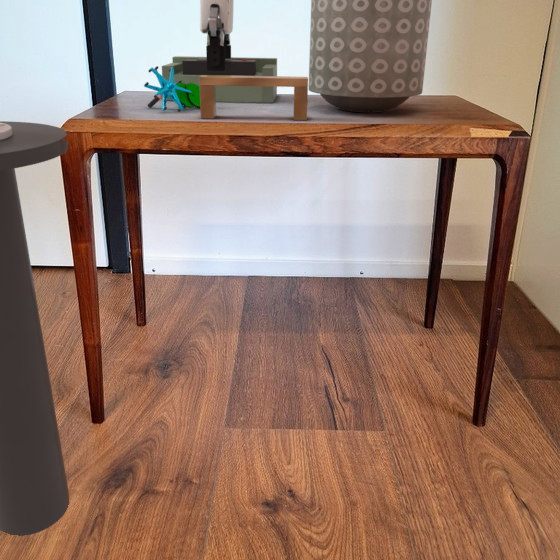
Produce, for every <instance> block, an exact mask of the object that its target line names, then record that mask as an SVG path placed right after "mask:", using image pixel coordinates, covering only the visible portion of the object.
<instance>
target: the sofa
mask: <svg viewBox="0 0 560 560" xmlns="http://www.w3.org/2000/svg"><path fill="white" fill-rule="evenodd" d="M171 58H172V62H170V63H167V64H164V65H161V75H162V76H163V77H164V78H165V79H166V80H167V81H169V78H170V72H169V70H170V69H171V68H172V67H173V68H174V81H173V82H174V83H175V84H176V83H178V82H179V81H182V83H185V84H188V83H194V84H196V85H198V86H199V87H200V82H199V77H200V76H202V75H183V67H182V61H183V60H186V59H199V58H207V56H185V55H183V56H181V55H178V56H177V55H174V56H172V57H171ZM231 59H232V60H242V59H247V60H256V74H255V76H278V57H238V56H237V57H235V56H233V57H232V56H231ZM227 76H232V75H227ZM165 86H166V85H165ZM215 87H216V103H252V104H253V103H254V104H256V103H257V104H274V102H275V100H276V98H277V96H278V87H273V86H215ZM170 93H171V91H170ZM171 94H172V93H171ZM167 102H174V101H173V100H171V99H170V98H169V97H168V96H167Z"/></svg>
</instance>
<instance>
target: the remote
mask: <svg viewBox="0 0 560 560" xmlns="http://www.w3.org/2000/svg"><path fill="white" fill-rule="evenodd" d="M182 67H183V75H232V76H255V74H256V60H247V59H242V60H232V59H225V70H224V71H209V70H207V58H199V59H186V60H183V61H182Z"/></svg>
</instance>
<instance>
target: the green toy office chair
mask: <svg viewBox="0 0 560 560" xmlns="http://www.w3.org/2000/svg"><path fill="white" fill-rule="evenodd" d="M158 69H160V68H159V66H158V65H156V66H155V67H151V68H149V69H148V73H151V72H152V73H153V75H155V76H156V79H157V81H158V83H159V86H160V87H159V86H156V85H152V84H150V83H149V82H148V81H147V82H145V83H144V84H143V87H144V88H147V89H148V90H149V89H150V90H153V91H156V93H155V94H154V95H153V99H151V100H150V101H149V102H148V103H147V107H148V108H149V109H152V108H153V107H154V106H155V105H156V104H157V103H158V102H159V101H160V100H162V104H161V105H162V106H161V108H162V109H161V111H162V112H165V111H166V110H167V109H168V107H167V102H168V101H167V96H168V97H169V98H170V99H171V100H173V101H172V102H174V103H175V104H176V105H177V107H178V109H177V112H178V113H180V112H182V111H183V110H185V109H186V108H187V109H193V108H197V109H201V107H200V87H199V86H198V85H196V84H194V83H188V84H185V83H182V81H179V82H178V83H176V84H175V83H174V82H173V81H174V68H173V67H172V68H171V69H170V70H169V72H170V78H169V81H167V80H166V79H165V78H164V77H163V76H162V74H161V73H160V72H159V70H158ZM165 85H166V86H165ZM170 91H171V93H172V94H171V93H170Z"/></svg>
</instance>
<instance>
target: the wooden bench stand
mask: <svg viewBox="0 0 560 560" xmlns="http://www.w3.org/2000/svg"><path fill="white" fill-rule="evenodd" d="M199 82H200V107H201V108H200V119H203V120H204V119H205V120H206V119H207V120H208V119H209V120H210V119H211V120H215V118H216V117H217V102H216V87H215V86H273V87H277V88H281V87H282V88H285V87H286V88H293V121H307V120H308V99H309V98H308V97H309V95H308V94H309V76H287V75H286V76H285V75H283V76H281V75H280V76H279V75H277V76H227V75H202V76H200V77H199Z"/></svg>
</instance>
